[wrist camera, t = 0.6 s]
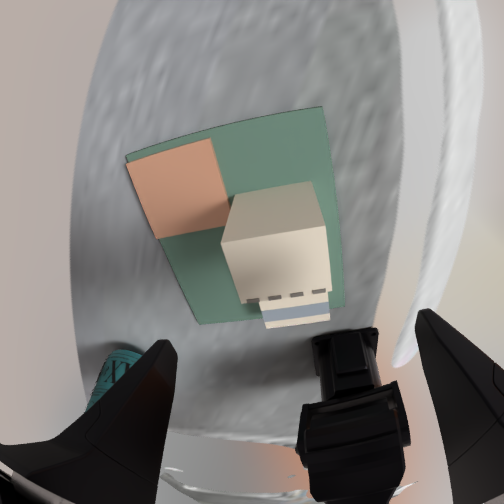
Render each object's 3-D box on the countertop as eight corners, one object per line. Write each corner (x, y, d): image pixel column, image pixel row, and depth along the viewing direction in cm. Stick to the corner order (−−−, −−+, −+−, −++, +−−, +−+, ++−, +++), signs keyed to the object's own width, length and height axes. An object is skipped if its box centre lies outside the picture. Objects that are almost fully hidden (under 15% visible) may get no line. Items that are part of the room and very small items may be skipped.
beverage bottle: (174, 361, 31) (133, 529, 14) (145, 376, 34) (105, 518, 17) (127, 329, 29) (62, 504, 12) (103, 349, 31) (47, 493, 15)
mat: (344, 303, 24) (344, 306, 24) (200, 321, 27) (199, 324, 26) (321, 106, 16) (322, 106, 16) (128, 154, 18) (125, 155, 18)
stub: (319, 234, 20) (332, 291, 15) (249, 245, 21) (241, 304, 16) (311, 180, 18) (325, 226, 13) (234, 194, 19) (220, 244, 14)
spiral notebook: (326, 300, 24) (330, 320, 22) (267, 309, 25) (266, 329, 23) (319, 239, 21) (324, 257, 19) (250, 250, 22) (248, 269, 20)
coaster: (235, 221, 20) (234, 224, 20) (157, 236, 21) (156, 239, 21) (210, 137, 17) (209, 138, 17) (128, 162, 18) (125, 164, 18)
